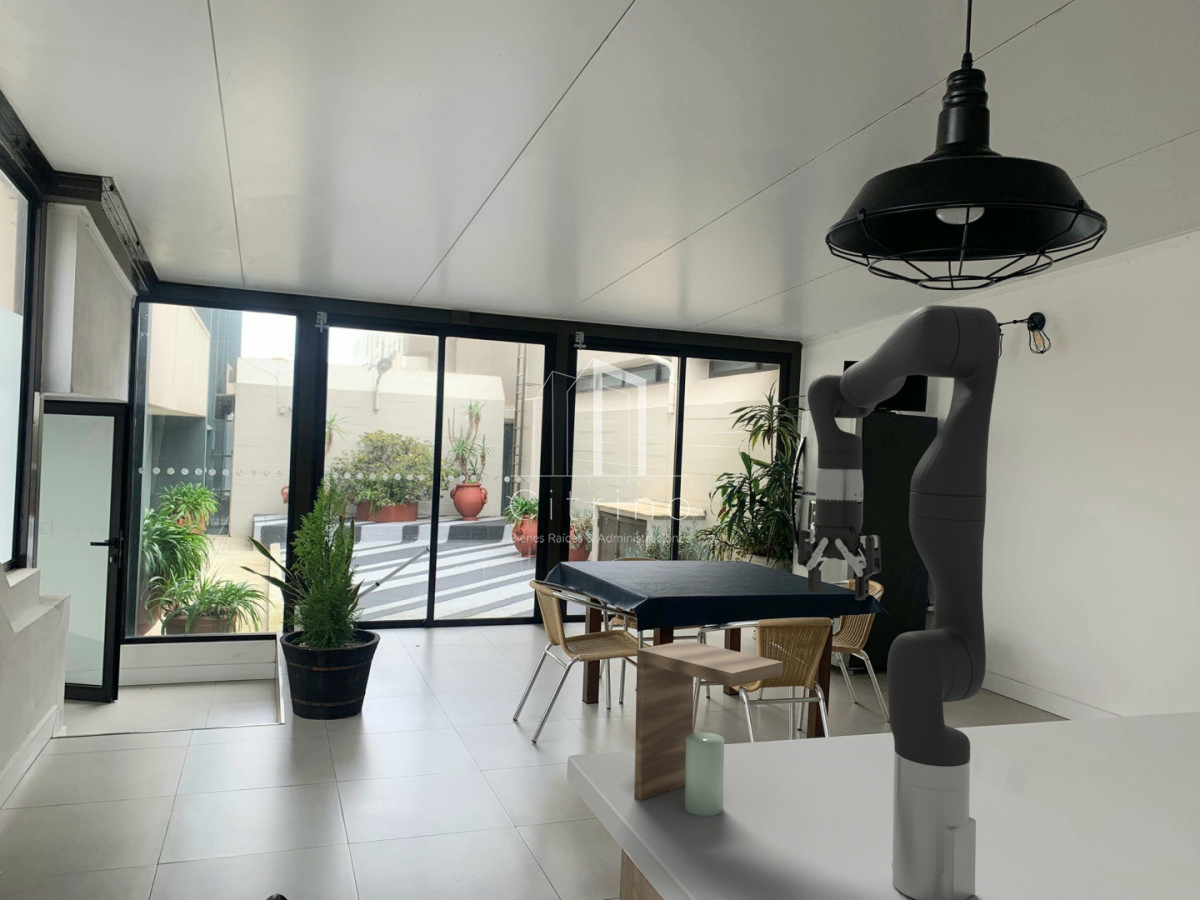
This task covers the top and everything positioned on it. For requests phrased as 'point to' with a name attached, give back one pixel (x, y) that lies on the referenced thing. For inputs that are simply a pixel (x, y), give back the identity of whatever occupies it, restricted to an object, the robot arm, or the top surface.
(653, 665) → the overhanging shelf
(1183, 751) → the top surface
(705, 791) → the pillar candle
